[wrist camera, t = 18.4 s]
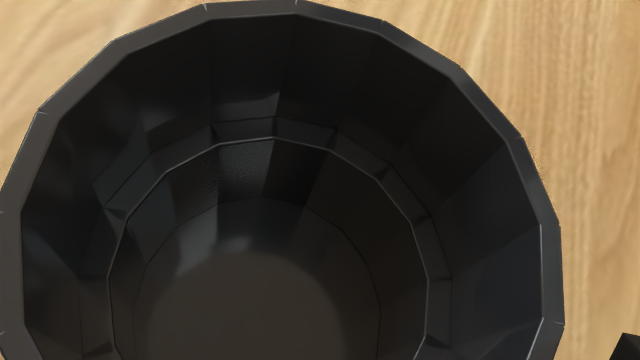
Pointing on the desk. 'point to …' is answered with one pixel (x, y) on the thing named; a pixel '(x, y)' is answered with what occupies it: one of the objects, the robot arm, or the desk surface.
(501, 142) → the cup
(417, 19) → the desk surface
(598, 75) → the desk surface
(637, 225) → the desk surface
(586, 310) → the desk surface
